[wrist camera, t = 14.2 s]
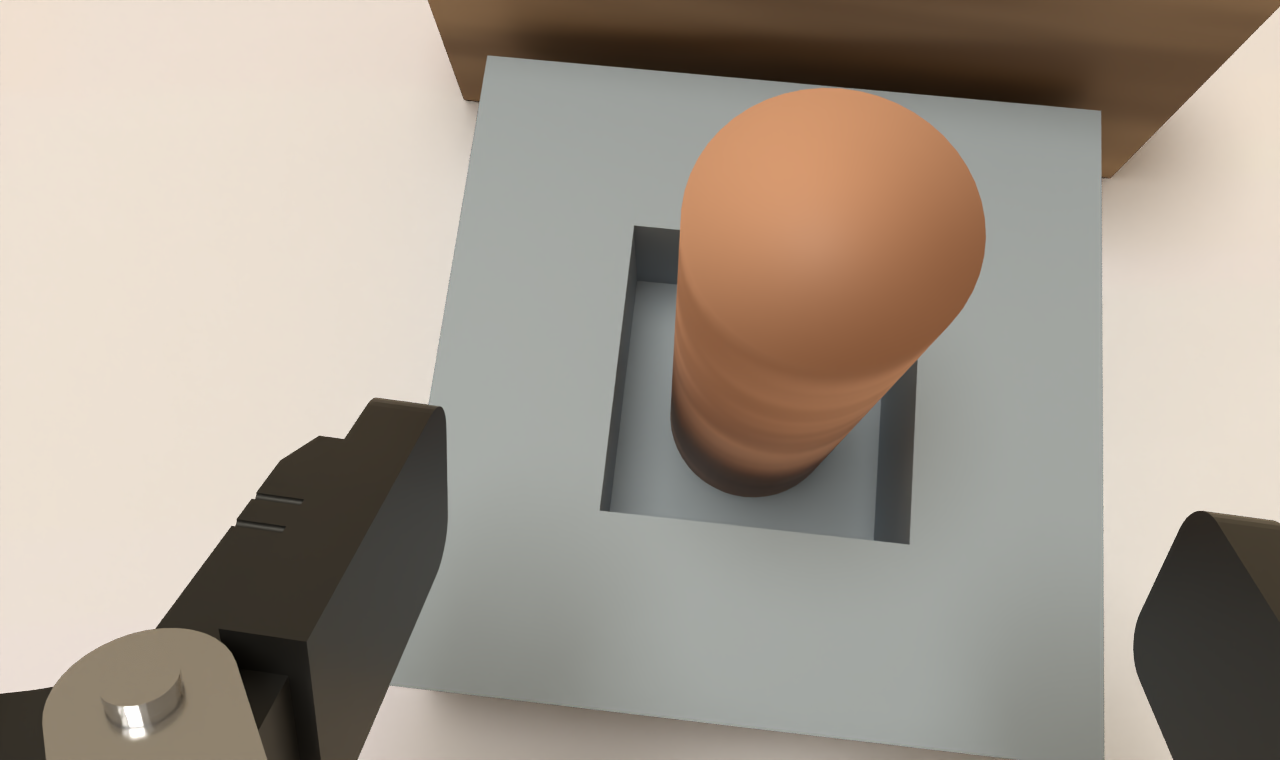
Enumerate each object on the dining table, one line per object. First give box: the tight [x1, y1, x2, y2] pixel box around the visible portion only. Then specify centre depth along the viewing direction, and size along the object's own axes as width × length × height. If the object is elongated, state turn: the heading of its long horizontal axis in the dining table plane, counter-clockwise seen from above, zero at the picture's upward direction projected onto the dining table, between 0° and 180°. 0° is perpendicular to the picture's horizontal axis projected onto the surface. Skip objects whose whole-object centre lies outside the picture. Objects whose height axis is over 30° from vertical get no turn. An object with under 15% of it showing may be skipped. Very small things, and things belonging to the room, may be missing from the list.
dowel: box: [670, 88, 986, 497], centre depth 16 cm, size 3×3×10 cm
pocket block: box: [390, 55, 1104, 760], centre depth 20 cm, size 12×12×4 cm
